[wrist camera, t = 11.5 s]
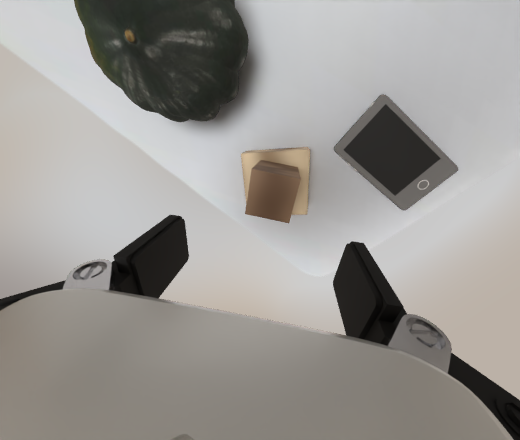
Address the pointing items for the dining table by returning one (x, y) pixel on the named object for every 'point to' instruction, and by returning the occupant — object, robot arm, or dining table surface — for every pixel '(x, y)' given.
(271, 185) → the walnut block
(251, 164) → the oak base block
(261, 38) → the dining table surface
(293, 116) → the dining table surface
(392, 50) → the dining table surface
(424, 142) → the smartphone
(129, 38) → the squash
